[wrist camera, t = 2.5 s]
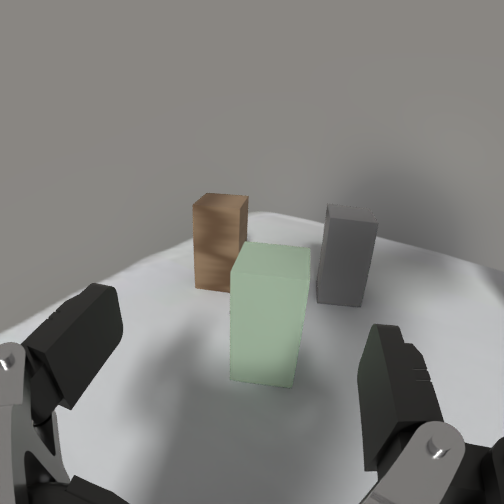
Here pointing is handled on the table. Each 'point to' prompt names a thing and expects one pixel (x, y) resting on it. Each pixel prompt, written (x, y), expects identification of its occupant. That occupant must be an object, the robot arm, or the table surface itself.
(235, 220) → the walnut block
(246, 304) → the sage block
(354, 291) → the charcoal block
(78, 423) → the table surface
